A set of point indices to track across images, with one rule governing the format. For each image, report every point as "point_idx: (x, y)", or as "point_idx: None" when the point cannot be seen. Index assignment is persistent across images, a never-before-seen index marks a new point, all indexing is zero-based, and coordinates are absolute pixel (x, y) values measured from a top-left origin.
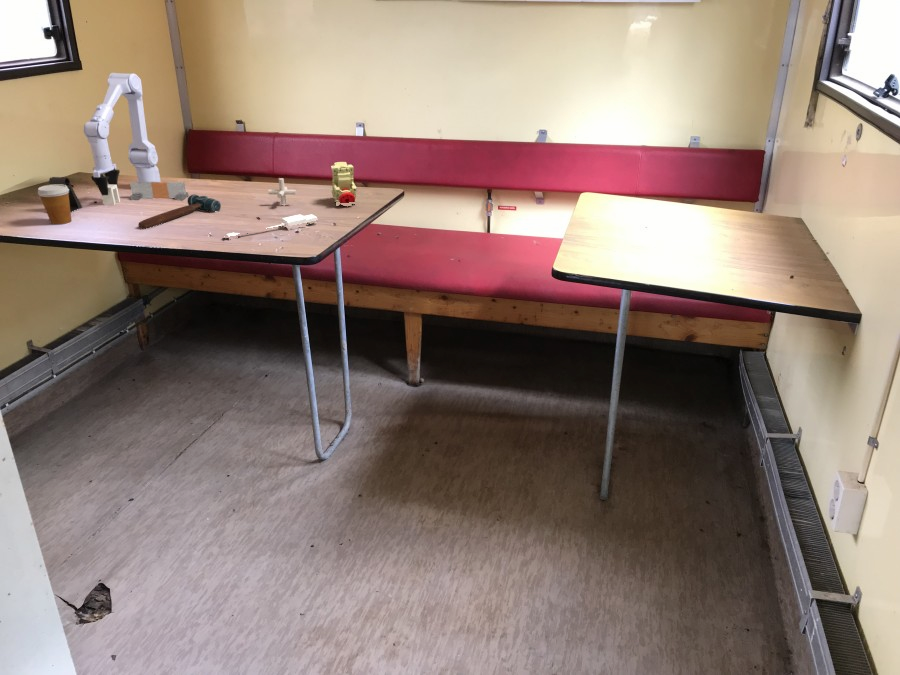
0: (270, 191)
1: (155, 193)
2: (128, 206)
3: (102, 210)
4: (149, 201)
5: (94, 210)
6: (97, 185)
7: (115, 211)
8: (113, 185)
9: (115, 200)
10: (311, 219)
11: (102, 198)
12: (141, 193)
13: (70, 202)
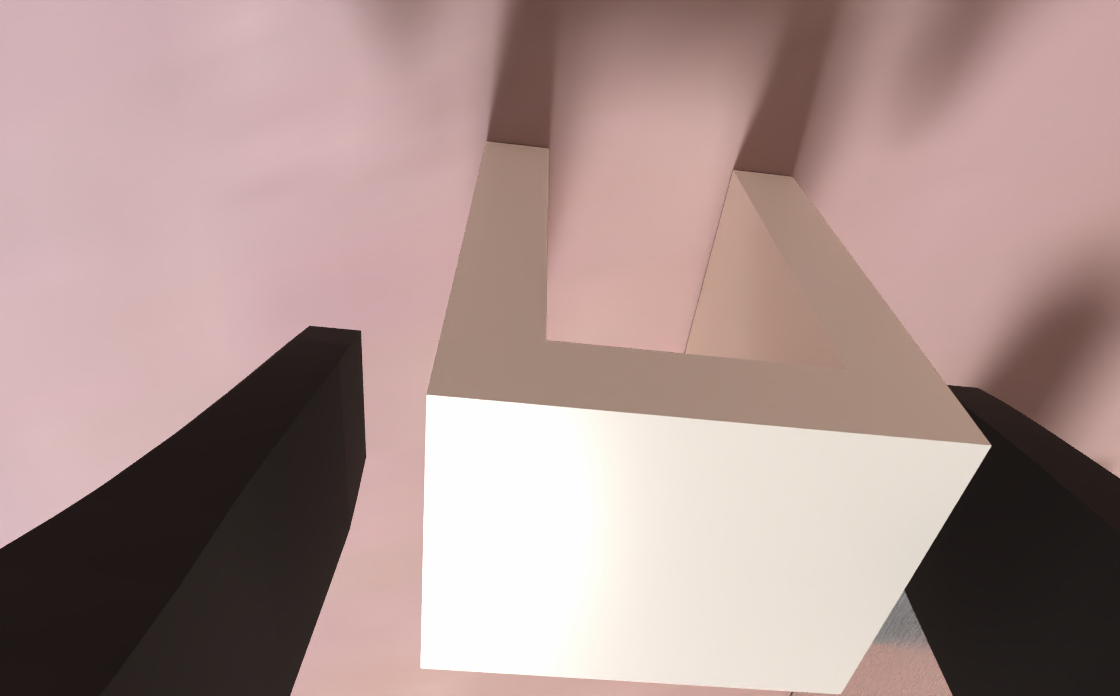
0: None
1: None
2: (386, 548)
3: (61, 246)
4: (644, 687)
5: (6, 73)
6: (30, 556)
7: (66, 463)
8: (726, 661)
9: (702, 333)
10: None
11: (473, 206)
12: (868, 676)
13: None
